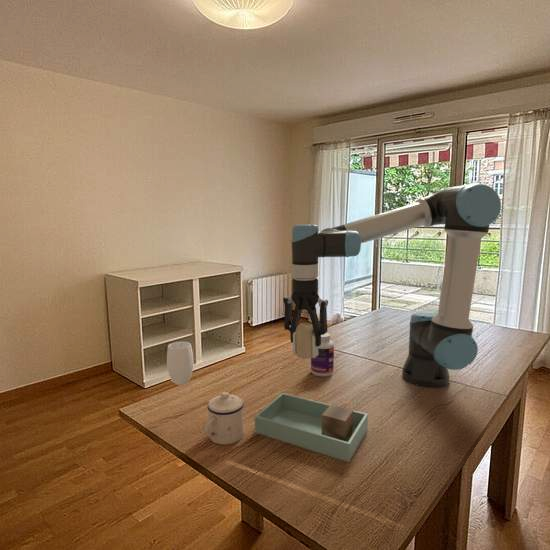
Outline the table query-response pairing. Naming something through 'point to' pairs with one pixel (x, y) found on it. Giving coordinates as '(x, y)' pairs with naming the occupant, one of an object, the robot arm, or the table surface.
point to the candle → (304, 340)
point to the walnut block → (337, 423)
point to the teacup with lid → (225, 419)
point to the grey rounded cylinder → (180, 362)
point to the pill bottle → (324, 357)
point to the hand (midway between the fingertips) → (305, 354)
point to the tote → (307, 426)
